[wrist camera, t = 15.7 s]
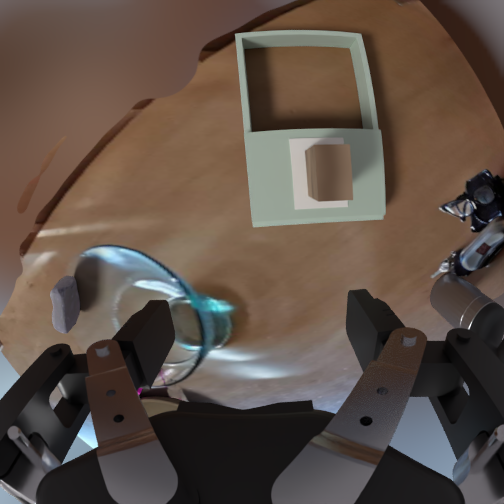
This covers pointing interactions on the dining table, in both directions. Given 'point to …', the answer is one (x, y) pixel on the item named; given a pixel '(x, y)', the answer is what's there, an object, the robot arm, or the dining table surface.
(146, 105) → the dining table surface
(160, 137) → the dining table surface
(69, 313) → the stone block
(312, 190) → the wood block
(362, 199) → the box
